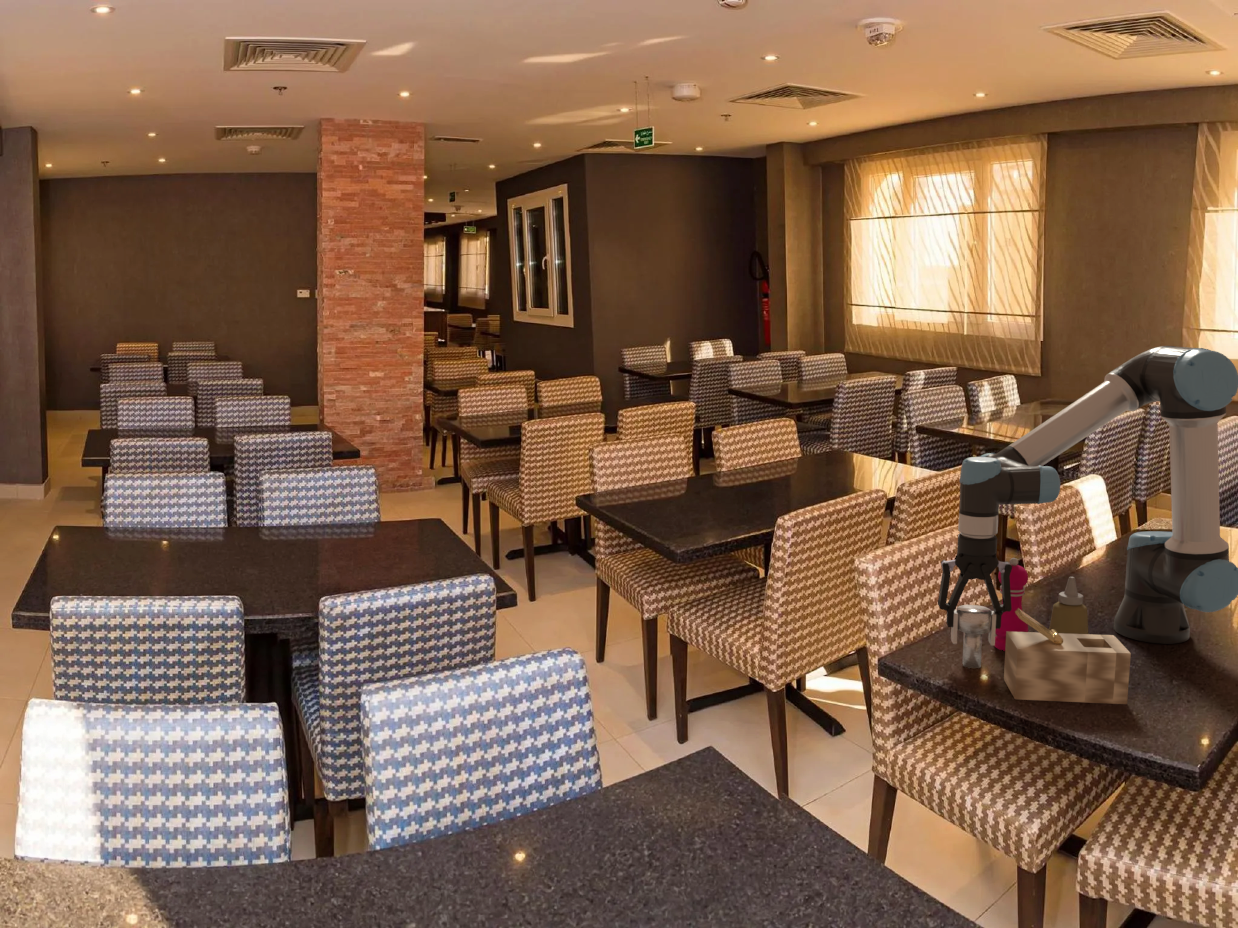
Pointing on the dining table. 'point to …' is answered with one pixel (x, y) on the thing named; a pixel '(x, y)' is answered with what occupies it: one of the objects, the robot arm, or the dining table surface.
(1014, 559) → the pepper mill
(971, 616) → the silver capsule
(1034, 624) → the brass latch
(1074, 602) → the squeeze bottle
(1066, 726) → the dining table surface
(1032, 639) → the maple block
